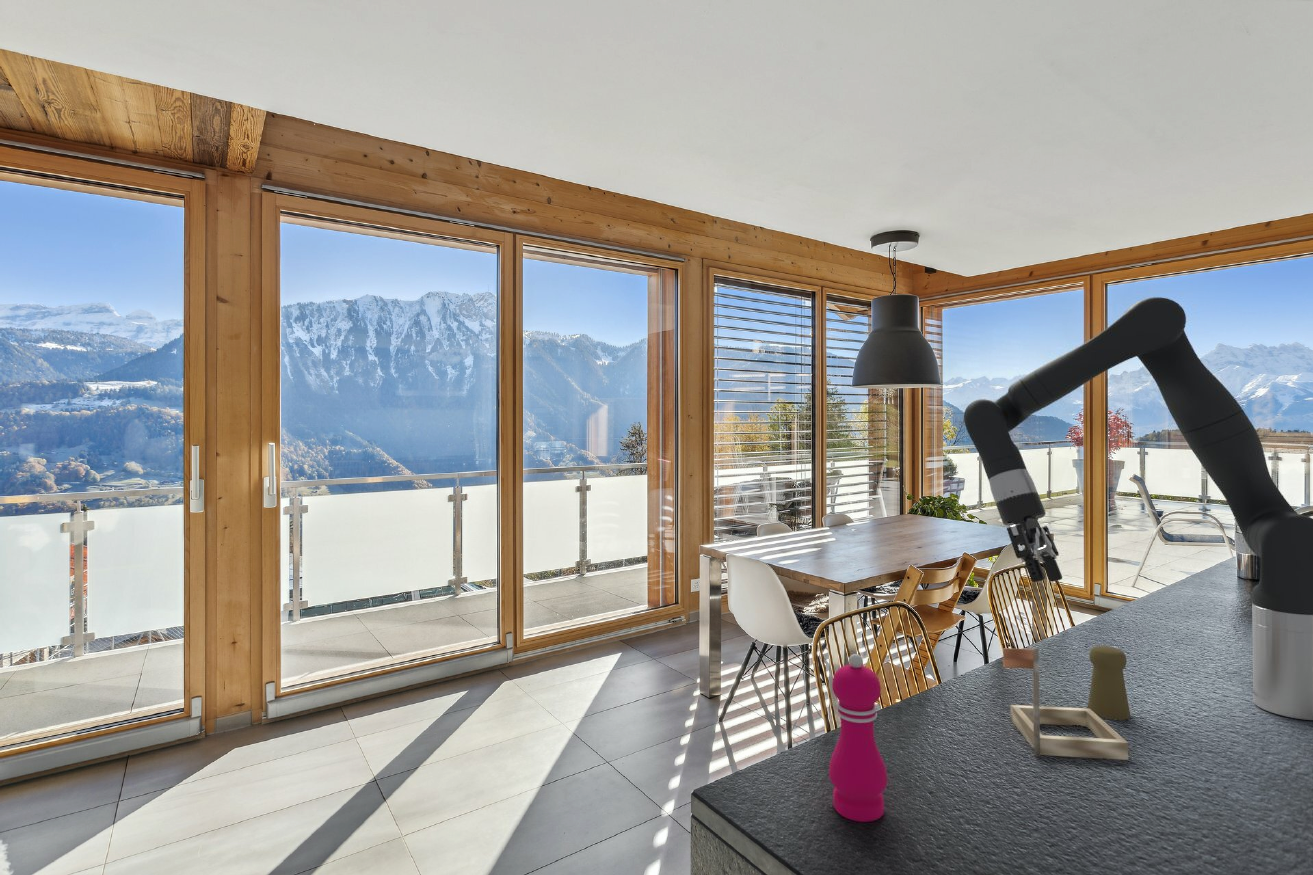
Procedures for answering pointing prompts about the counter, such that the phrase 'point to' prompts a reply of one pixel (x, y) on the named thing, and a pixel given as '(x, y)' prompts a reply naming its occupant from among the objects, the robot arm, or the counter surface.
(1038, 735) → the wooden square frame
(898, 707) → the counter surface
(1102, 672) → the cork
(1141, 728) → the counter surface
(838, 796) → the pepper mill
